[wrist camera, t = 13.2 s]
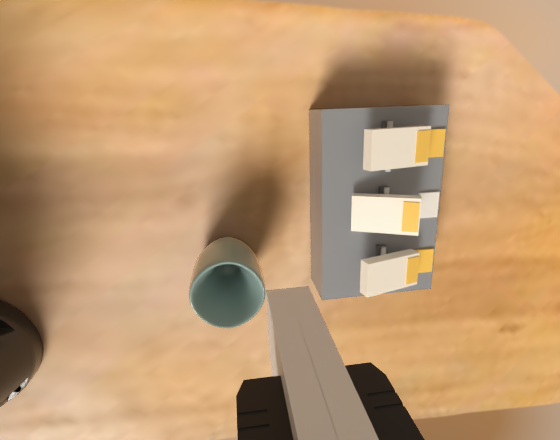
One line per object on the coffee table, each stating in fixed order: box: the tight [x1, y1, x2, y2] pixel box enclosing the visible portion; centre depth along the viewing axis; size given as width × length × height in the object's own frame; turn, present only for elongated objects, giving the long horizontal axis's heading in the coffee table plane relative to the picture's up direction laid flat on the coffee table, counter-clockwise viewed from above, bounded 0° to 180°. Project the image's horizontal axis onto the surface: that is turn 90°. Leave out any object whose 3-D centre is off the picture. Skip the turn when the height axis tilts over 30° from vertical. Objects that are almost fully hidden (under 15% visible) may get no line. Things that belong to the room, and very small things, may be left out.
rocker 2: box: [351, 193, 421, 236], centre depth 39 cm, size 7×4×2 cm, turn 93°
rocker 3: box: [360, 249, 420, 298], centre depth 41 cm, size 7×4×2 cm, turn 91°
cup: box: [189, 237, 265, 328], centre depth 42 cm, size 8×8×10 cm
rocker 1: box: [363, 126, 431, 171], centre depth 37 cm, size 7×4×2 cm, turn 92°
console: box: [309, 105, 449, 300], centre depth 43 cm, size 14×22×7 cm, turn 2°
